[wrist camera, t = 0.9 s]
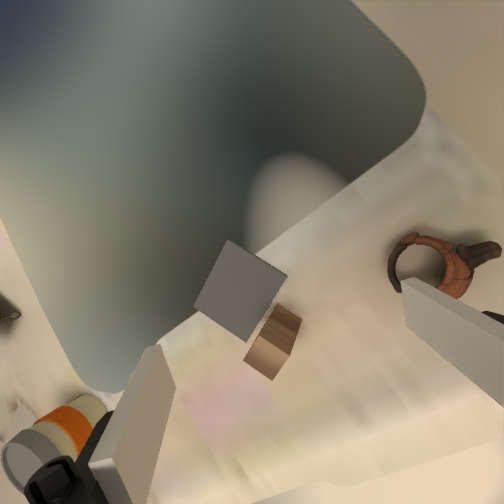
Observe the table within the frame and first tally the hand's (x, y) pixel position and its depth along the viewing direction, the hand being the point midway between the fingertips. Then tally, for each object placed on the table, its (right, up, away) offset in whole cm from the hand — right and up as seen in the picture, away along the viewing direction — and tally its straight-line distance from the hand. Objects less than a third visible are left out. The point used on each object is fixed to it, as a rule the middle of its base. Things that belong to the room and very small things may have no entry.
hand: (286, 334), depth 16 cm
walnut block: (+3, -7, +32) cm, 33 cm away
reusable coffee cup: (-37, -31, +51) cm, 71 cm away
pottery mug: (+23, +3, +24) cm, 33 cm away
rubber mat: (-4, -2, +34) cm, 34 cm away
